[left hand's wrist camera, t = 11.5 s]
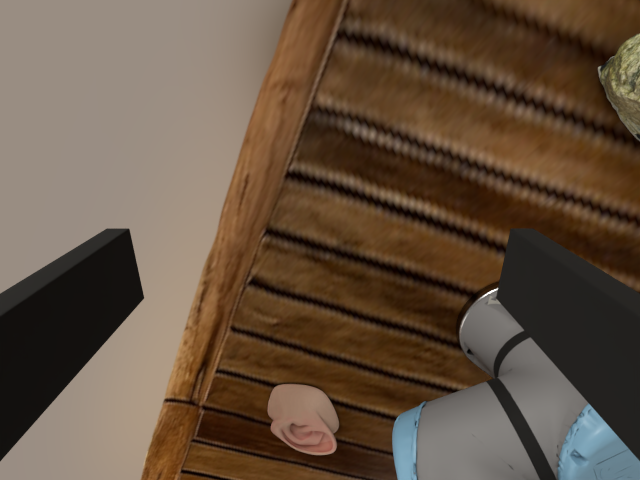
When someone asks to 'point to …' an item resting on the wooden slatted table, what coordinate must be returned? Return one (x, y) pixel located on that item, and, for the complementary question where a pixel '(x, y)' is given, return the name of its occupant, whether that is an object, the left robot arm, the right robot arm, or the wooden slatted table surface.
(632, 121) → the fossil
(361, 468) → the wooden slatted table surface
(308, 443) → the anatomical model
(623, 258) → the wooden slatted table surface
